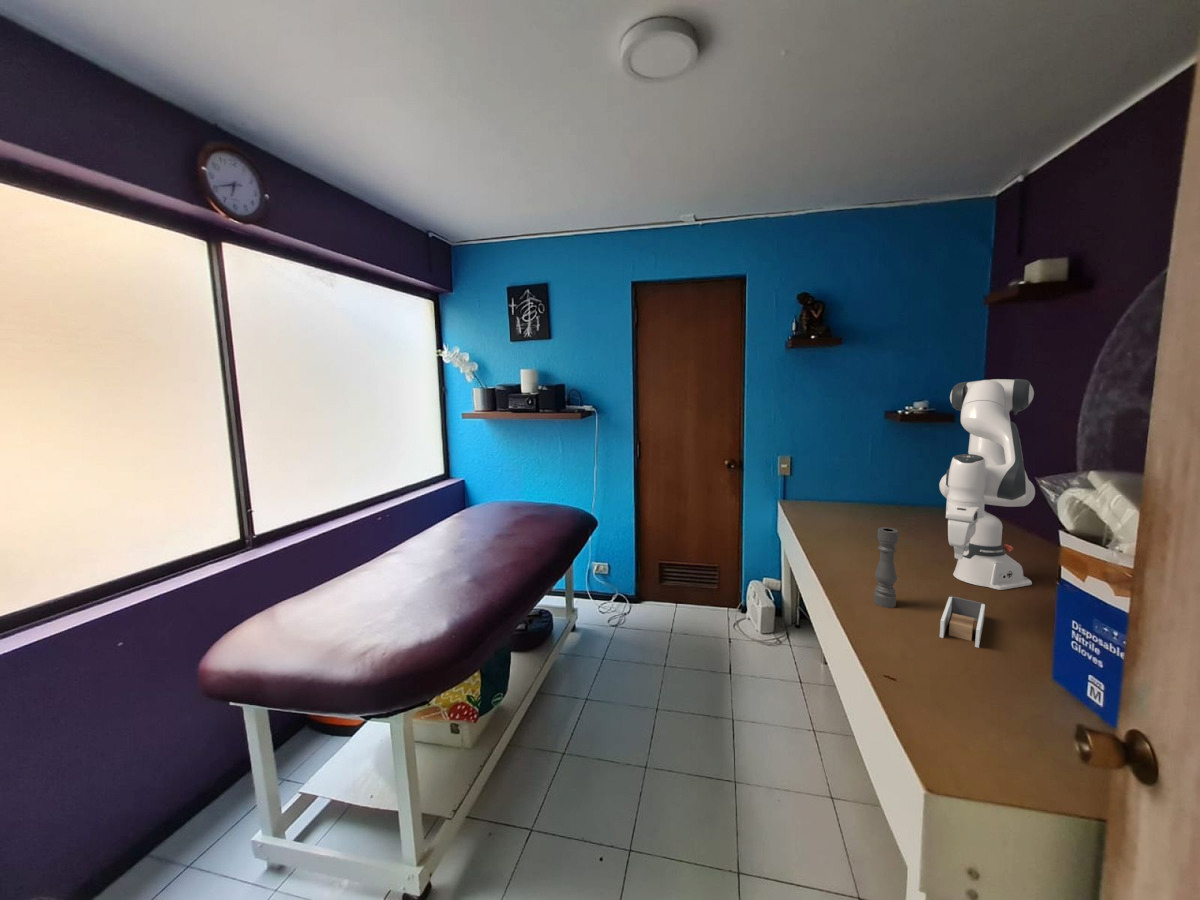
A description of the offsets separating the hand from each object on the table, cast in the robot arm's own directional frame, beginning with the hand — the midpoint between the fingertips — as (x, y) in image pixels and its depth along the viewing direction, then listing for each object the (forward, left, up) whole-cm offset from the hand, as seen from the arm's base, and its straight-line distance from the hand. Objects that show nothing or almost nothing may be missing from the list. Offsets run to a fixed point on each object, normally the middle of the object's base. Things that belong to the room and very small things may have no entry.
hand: (961, 554), depth 137 cm
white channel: (+3, +6, -20) cm, 21 cm away
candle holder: (+15, -11, -20) cm, 28 cm away
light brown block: (+6, +8, -20) cm, 23 cm away
